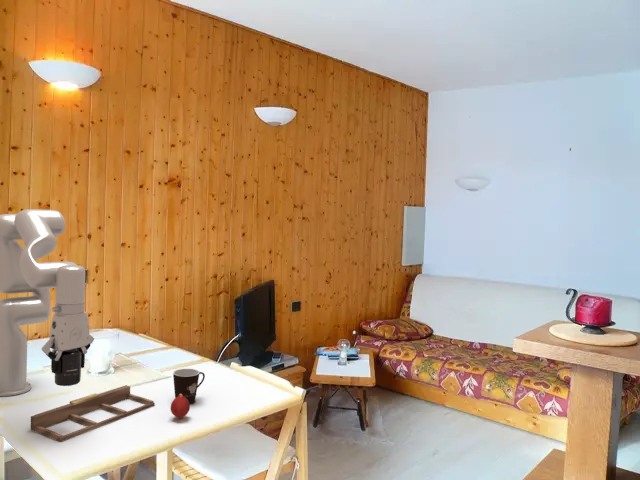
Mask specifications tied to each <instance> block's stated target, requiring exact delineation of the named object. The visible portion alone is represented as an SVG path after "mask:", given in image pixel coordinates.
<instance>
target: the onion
mask: <svg viewBox="0 0 640 480" xmlns="http://www.w3.org/2000/svg"><path fill="white" fill-rule="evenodd" d="M190 409H191V404H189V401H188V400H187V399H186V398H185V397H184V396H183V395H182V394H179V395H178V397H176V398H175V397H174V398H173V400H172V401H171V404H170V412H171V414H172V415H173V416H174V417H176V418H177V419H178V420H182V419H183V418H185V416H187V415H188V413H189V412H190Z"/></svg>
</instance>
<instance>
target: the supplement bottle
mask: <svg viewBox="0 0 640 480" xmlns="http://www.w3.org/2000/svg"><path fill="white" fill-rule="evenodd" d="M81 358H82V353H81V351H80V350H78V349H72V350H68V351H63V352H62V354H61V356H60V358H59V360H61V373H60V374H55V373H54V383H55V385H57V386H60V387H61V386H62V387H71V386H76V385H78V384H79V383H80V382H81V377H82V376H81V375H82V368H81Z"/></svg>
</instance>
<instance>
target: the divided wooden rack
mask: <svg viewBox="0 0 640 480" xmlns="http://www.w3.org/2000/svg"><path fill="white" fill-rule="evenodd" d="M125 399H126V400H130V401H132V402H136V403H140V404H144V405H141V406H138V407H136V408H133V409H130V410H128V411H127V410H126V409H122V408H120V407H116V406H113V405H114V404H117V403H120V402H124V401H125ZM155 403H156V402H154V400H152V399H149V398H145V397H142V396H139V395H135V394H132V393H131V386H130V385H128V384H127V385H122V386H120V387H117V388H114V389H110V390H108V391H104V392H102V393H101V392H100V393H98V394H97V393H93V394H89V395H85V396H82V397H79V398H76V399H74V400H70V401H69V403H67V404H64V405H61V406H59V407H55V408H51V409H49V410H48V409H47V410H45V411H43V412H39V413H36V414H34V415H30V431H31V432H35V433H37V434H40V435H42V436H45V437H47V438H50V439H52V440H55V441H57V442H58V443H62V442H64V441H67V440H70V439H72V438H75V437H77V436H80V435H82V434H85V433H87V432H90V431H92V430H95V429H98V428H101V427H103V426H105V425H106V426H107V425H108V424H112V423H114V422H116V421H118V420H122V419H124V418H126V417H129V416H132V415H133V414H137V413H139V412H141V411H144V410H147V409H150V408H151V407H155V405H156V404H155ZM97 410H103V411H107V412H109V413H112V414H115V415H114V416H112V417H109V418H107V419H105V420H101V421H99V422H97V421H95V420H91V419H89V418H86V417H83V415H86V414H89V413H91V412H94V411H97ZM69 420H70V421H72V422H75V423H78V424H81V425H84V426H86V427H81V428H79V429H77V430H74V431H72V432H69V433H67V434H64V435H63V434H61V433H59V432H57V431H53V430H52V429H49V427H51V426H54V425H57V424H60V423H63V422H66V421H69Z"/></svg>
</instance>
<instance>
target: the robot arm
mask: <svg viewBox="0 0 640 480" xmlns="http://www.w3.org/2000/svg"><path fill="white" fill-rule="evenodd" d="M65 229H66V220H65V218H64V215H63V214H62V213H61V212H60V211H58V210H57V209H56V210H55V209H37V208H36V209H34V208H31V209H29V208H28V209H23V210H20V211H19V212H17V213H5V214H0V293H2V294H6V295H8V294H9V295H11V294H12V295H13V294H25V293H31V294H32V295H30V296H29V295H28V296H15V297H6V298H2V299H0V397H10V396H17V395H20V394H25V393H27V392H28V391H29V392H30V390H31V389H32V385H33V384H32V383H31V382H29V381H27V377H28V375H27V374H28V368H27V367H28V336H27V334H26V333H25V332H24V331H23V330H22V329H21V328H20V327H21V326H25V325H34V324H40V323H45V322H46V321H48V320H49V317H50V315H51V312H53V313H54V314H53V316H52V319H51V322H50V323H51V324H50V330H49V340H47V342H46V343H45V344H44V345H43V346H42V347H41V351H42V352H43V353H44V354H45V356H47V357H48V358H49V359H50V360H51V364H50V365H51V366H50V369H51V373H52V374H54V375H55V374H60V373H61V360H59V358H60V356H61V354H62V352H63V351H68V350H72V349H78V350H80V351H81V353H82V358H81V369H84V368H85V363H86V362H85V360H86V359H85V358H86V354H87V353H88V350H89V349H90V347H91V345H92V344H93V342H94V341H95V337H94V336H92V335H91V334H90V325H89V323H90V322H89V317H88V313H87V311H85V302H86V300H85V299H86V298H85V296H86V294H85V293H86V269H85V267H84V266H83V265H77V264H76V263H75V262H74V261H73V262H72V261H44V262H37V261H36V260H39V259H42V258H43V257H46V256H48V255H49V254H51V253H52V252H54V250H55V249H56V247H57V245H58V241H57V238H56V237H59V236H61V235H62V234H63V233H64V231H65ZM18 240H20V241H21V240H22V241H23V244H24V245H25V247H23V246H22V245H21V244H20V243H19V241H18ZM51 289H55V305H54V306H52V307H51ZM51 349H52V350H51Z"/></svg>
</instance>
